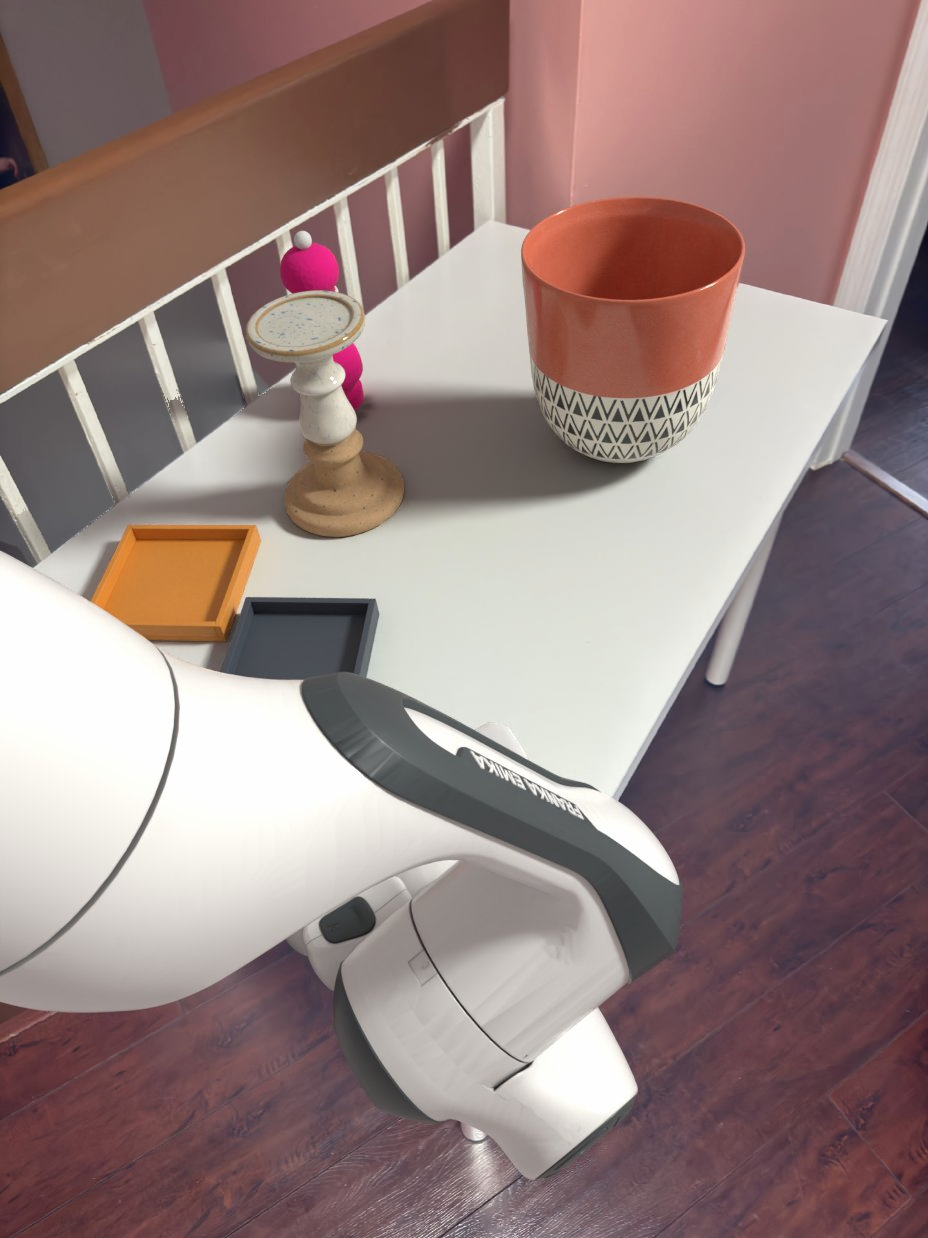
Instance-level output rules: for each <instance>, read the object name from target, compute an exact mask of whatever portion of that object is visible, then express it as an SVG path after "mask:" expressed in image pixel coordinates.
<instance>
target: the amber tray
mask: <svg viewBox="0 0 928 1238" xmlns="http://www.w3.org/2000/svg"><path fill="white" fill-rule="evenodd" d="M261 542H262V539H261V536H260V532H259V529H258V526H257V524H127V526H126V528H125V529H124V531H123V533H122V535H121V538H120V540H119V542H118V544H117V546H116V548H115V551H114V552H113V554H112V556H111V559H110V561H109V562H108V565H107V567H106V568H105V571H104V573H103V575H102V577H101V579H100V580H99V583H98V584H97V586H96V589H95V591H94V593H93V594H92V597H91V599H90V600H89V601H90V602H92V603H94V604H95V605H97V606H98V607H100V608H102V609H103V610H105V611H106V612H108V613H109V614H111V615H112V616H114V617H115V618H117V619H118V620H120V621H121V622H123V623H124V624H126V625H127V626H128V627H130V628H131V629H133V630H134V631H136V632H137V633H139V634H140V635H142V636H143V637H145V638H146V639H147V640H148V641H170V642H172V641H175V642H177V641H178V642H227V641H228V638H229V636H230V633H231V630H232V626H233V624H234V621H235V618H236V615H237V612H238V610H239V606H240V604H241V601H242V598H243V595H244V592H245V590H246V586H247V583H248V581H249V577H250V574H251V571H252V568H253V565H254V563H255V560H256V557H257V554H258V552H259V549H260V546H261Z"/></svg>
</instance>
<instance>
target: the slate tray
mask: <svg viewBox="0 0 928 1238" xmlns="http://www.w3.org/2000/svg"><path fill="white" fill-rule="evenodd" d="M379 617H380V611H379V606H378V602H377V599H376V598H367V597H366V598H365V597H364V598H360V597H288V596H287V597H285V596H284V597H281V596H279V597H278V596H246V597H245V599H244V601H243V604H242V607H241V610H240V613H239V616H238V619H237V622H236V625H235V628H234V631H233V634H232V637H231V639H230V643H229V645H228V649H227V652H226V655H225V657H224V660H223V663H222V666H221V669H220V672H222V673H227V674H232V675H238V676H244V677H252V678H261V679H274V680H305V679H306V678H309V677H315V676H321V675H327V674H332V673H338V672H350V673H354V674H357V675H360V676H363V677H366V678H368V673H369V667H370V662H371V659H372V658H371V657H372V652H373V647H374V643H375V637H376V633H377V627H378V622H379Z"/></svg>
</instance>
